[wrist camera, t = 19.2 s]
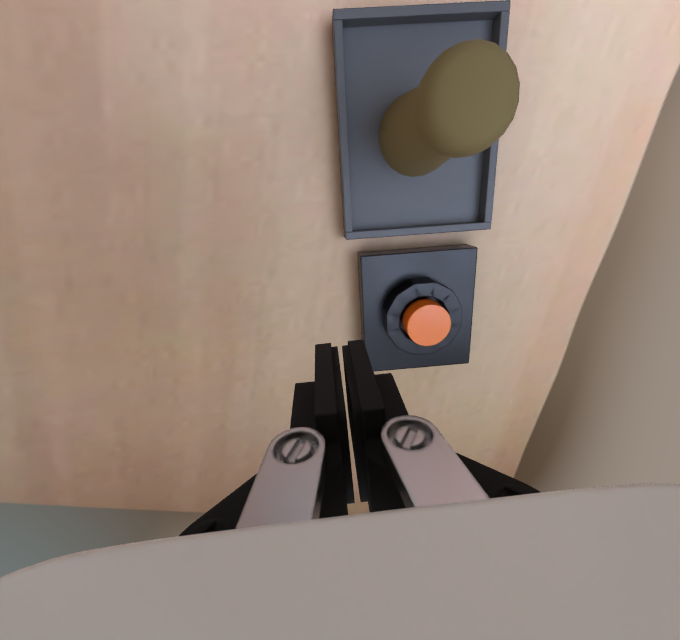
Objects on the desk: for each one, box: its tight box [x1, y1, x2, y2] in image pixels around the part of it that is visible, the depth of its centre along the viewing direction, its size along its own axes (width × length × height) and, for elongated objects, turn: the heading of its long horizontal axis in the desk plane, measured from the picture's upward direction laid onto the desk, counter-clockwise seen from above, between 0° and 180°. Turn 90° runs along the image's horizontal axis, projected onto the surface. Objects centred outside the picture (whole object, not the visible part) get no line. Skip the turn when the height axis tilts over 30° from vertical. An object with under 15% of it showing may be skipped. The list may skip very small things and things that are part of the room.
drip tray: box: [332, 0, 510, 240], centre depth 26 cm, size 15×12×2 cm
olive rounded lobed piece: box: [379, 39, 520, 177], centre depth 21 cm, size 6×6×11 cm
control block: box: [358, 244, 477, 371], centre depth 30 cm, size 11×10×4 cm
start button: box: [402, 299, 451, 346], centre depth 28 cm, size 4×4×2 cm
